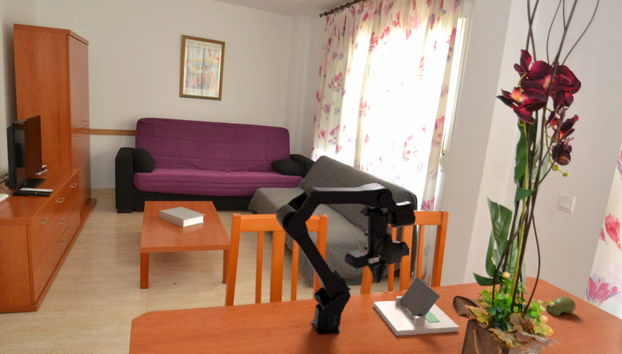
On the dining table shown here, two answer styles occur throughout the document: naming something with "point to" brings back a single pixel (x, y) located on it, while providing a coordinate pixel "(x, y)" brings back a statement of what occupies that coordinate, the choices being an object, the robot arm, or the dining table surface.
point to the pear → (561, 306)
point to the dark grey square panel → (419, 298)
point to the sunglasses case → (462, 301)
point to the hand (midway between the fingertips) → (377, 282)
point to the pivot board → (414, 319)
